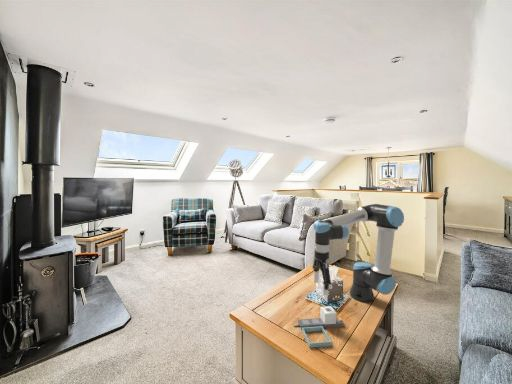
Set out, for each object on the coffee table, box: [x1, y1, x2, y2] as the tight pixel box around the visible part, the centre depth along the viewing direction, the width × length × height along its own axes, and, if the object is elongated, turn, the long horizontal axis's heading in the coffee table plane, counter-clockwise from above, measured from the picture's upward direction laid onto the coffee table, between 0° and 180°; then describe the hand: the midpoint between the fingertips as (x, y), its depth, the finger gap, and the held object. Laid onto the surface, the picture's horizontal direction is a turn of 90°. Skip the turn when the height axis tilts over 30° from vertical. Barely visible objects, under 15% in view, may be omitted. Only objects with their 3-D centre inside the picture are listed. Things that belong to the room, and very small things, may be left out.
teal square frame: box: [301, 326, 333, 349], centre depth 111 cm, size 11×11×3 cm
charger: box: [319, 305, 337, 324], centre depth 121 cm, size 6×6×8 cm
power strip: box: [293, 316, 345, 331], centre depth 121 cm, size 27×5×4 cm, turn 97°
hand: (320, 288), depth 123 cm, fingers open, 13 cm apart
